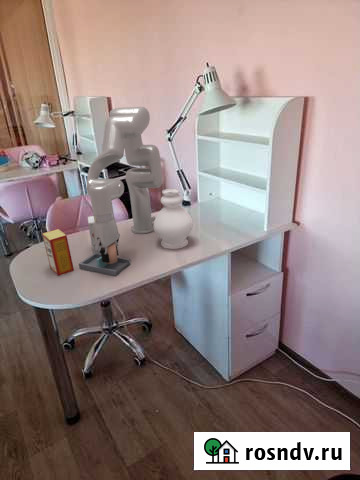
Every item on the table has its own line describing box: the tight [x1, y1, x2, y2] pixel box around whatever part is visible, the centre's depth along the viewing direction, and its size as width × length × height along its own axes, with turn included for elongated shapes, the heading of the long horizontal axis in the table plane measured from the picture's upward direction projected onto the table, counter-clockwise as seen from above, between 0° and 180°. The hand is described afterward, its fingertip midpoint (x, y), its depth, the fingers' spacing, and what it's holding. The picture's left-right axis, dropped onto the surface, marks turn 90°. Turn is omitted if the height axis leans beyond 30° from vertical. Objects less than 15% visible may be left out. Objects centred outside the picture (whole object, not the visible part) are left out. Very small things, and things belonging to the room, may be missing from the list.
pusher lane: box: [78, 253, 131, 277], centre depth 138 cm, size 11×18×2 cm, turn 64°
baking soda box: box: [41, 228, 75, 277], centre depth 135 cm, size 10×6×16 cm
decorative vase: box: [153, 188, 194, 250], centre depth 150 cm, size 18×18×25 cm
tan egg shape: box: [103, 242, 119, 264], centre depth 134 cm, size 6×6×7 cm
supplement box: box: [87, 215, 100, 254], centre depth 152 cm, size 9×9×15 cm
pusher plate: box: [96, 257, 107, 268], centre depth 137 cm, size 8×1×4 cm, turn 154°
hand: (110, 258), depth 135 cm, fingers closed on tan egg shape, 5 cm apart
